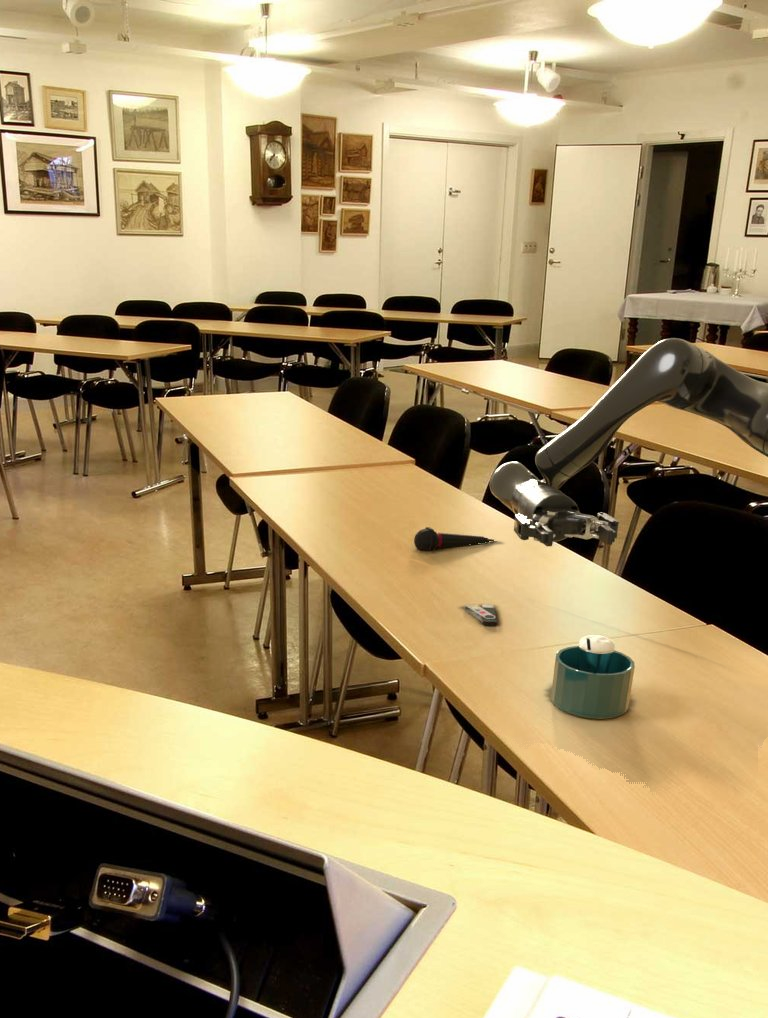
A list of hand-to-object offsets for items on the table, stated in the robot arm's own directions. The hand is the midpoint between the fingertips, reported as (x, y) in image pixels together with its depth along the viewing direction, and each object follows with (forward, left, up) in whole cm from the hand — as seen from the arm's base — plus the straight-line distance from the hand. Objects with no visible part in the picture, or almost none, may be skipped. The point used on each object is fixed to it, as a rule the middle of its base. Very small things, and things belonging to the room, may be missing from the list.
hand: (580, 539), depth 130 cm
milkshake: (+6, +9, -20) cm, 23 cm away
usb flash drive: (-7, -23, -21) cm, 32 cm away
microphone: (-34, -54, -21) cm, 67 cm away
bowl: (+6, +9, -21) cm, 23 cm away
